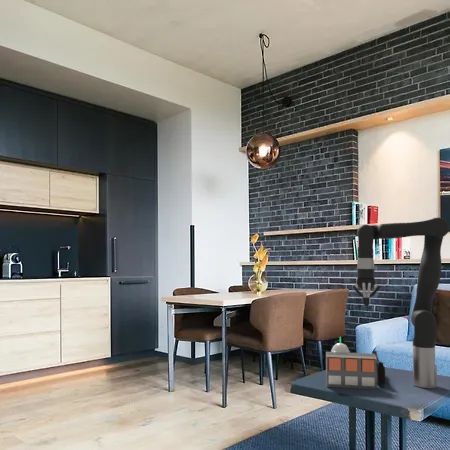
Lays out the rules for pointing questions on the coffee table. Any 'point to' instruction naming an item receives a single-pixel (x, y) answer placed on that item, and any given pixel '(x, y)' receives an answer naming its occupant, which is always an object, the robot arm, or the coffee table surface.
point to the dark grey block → (351, 372)
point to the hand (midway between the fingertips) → (366, 305)
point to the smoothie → (340, 348)
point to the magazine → (380, 371)
